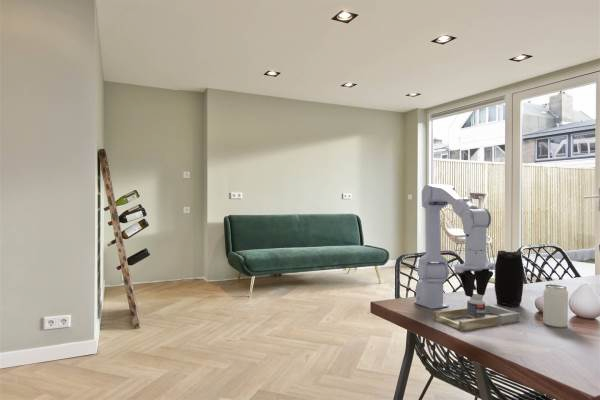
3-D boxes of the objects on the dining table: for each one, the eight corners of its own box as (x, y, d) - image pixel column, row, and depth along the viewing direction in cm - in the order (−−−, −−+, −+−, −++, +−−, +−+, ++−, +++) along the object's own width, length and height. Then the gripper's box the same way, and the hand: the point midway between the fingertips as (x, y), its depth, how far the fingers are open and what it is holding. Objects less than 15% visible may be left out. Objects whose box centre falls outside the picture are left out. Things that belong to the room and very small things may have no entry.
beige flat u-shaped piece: (433, 319, 131) (433, 311, 131) (467, 314, 137) (468, 306, 137) (462, 330, 120) (462, 322, 120) (498, 324, 126) (498, 316, 126)
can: (571, 328, 123) (572, 289, 123) (547, 327, 124) (548, 288, 124) (562, 322, 129) (562, 284, 129) (539, 320, 131) (540, 283, 131)
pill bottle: (477, 323, 127) (477, 295, 127) (463, 319, 132) (463, 291, 132) (488, 321, 129) (489, 293, 129) (474, 317, 134) (475, 290, 134)
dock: (471, 313, 138) (471, 306, 138) (488, 311, 141) (488, 303, 141) (501, 323, 127) (502, 315, 127) (519, 320, 130) (519, 313, 130)
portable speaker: (490, 301, 154) (491, 250, 154) (514, 301, 154) (515, 250, 154) (501, 307, 145) (502, 253, 145) (527, 308, 145) (528, 253, 145)
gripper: (468, 252, 114) (467, 300, 114) (504, 250, 120) (503, 296, 120) (449, 249, 120) (448, 295, 120) (484, 247, 126) (483, 290, 126)
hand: (474, 295), depth 121 cm, fingers open, 4 cm apart
